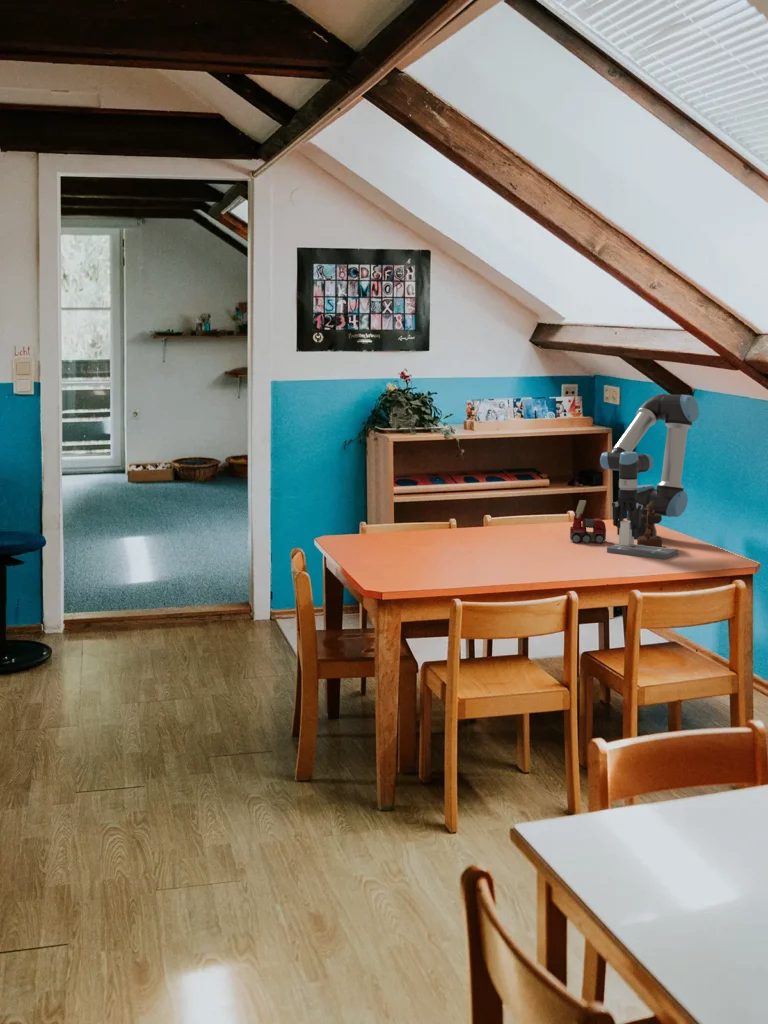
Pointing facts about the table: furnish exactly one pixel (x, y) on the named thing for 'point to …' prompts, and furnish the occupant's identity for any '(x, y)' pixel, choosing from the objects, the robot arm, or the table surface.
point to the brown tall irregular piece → (650, 527)
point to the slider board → (643, 551)
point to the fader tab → (625, 533)
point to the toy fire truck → (579, 528)
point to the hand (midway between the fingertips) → (626, 543)
